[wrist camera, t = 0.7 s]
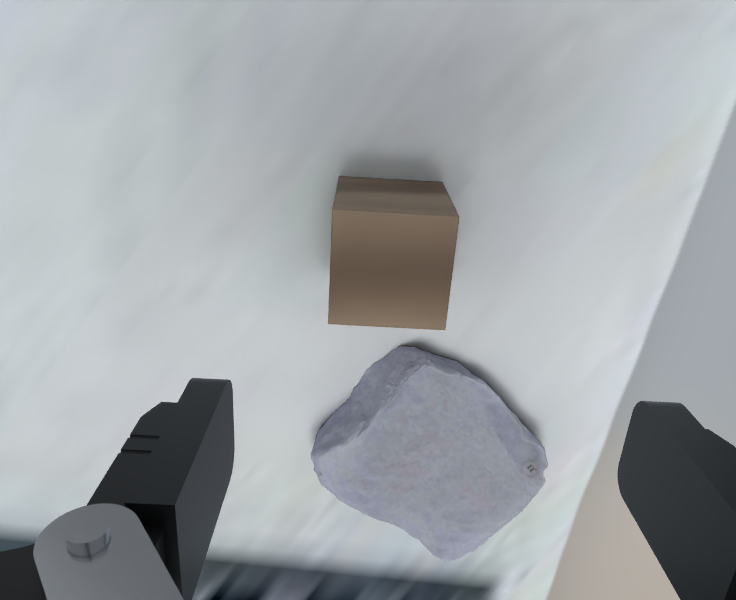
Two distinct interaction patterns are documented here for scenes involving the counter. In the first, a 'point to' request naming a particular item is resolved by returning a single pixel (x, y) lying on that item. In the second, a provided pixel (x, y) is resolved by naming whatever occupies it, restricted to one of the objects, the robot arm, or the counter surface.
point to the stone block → (430, 453)
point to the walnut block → (391, 253)
